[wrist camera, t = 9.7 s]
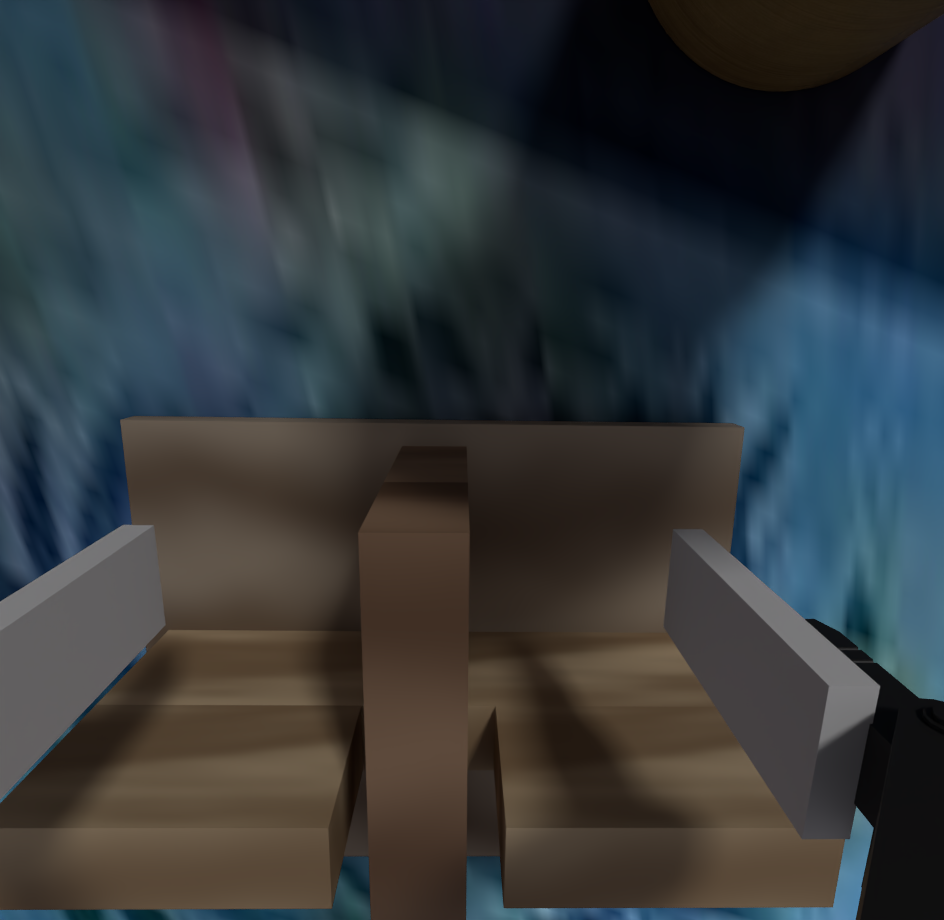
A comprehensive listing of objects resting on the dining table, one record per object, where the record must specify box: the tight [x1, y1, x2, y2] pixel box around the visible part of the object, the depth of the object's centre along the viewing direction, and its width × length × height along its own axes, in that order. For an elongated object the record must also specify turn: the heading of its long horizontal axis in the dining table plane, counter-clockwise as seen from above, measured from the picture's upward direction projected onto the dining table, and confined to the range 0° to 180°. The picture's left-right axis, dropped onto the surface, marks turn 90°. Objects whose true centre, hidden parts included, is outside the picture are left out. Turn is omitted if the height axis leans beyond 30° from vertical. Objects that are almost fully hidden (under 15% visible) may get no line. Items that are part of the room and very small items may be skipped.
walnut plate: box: [358, 446, 470, 920], centre depth 20 cm, size 18×2×10 cm, turn 179°
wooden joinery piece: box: [0, 416, 845, 910], centre depth 21 cm, size 20×24×11 cm
